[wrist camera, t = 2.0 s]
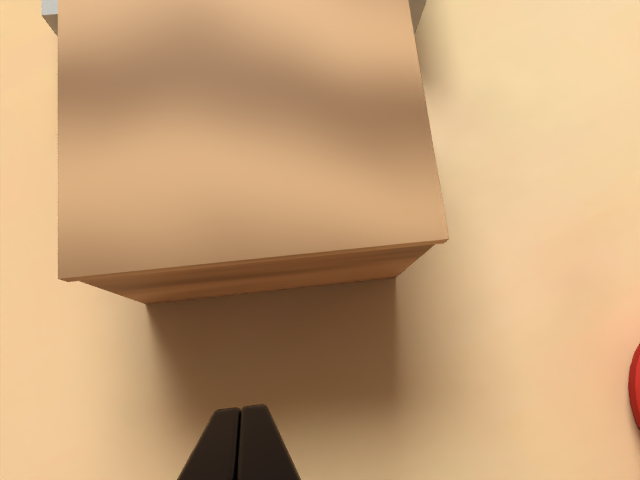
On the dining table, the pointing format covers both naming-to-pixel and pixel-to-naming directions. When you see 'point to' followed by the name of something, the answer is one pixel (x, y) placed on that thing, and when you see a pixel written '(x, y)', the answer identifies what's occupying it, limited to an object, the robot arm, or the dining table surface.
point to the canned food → (635, 385)
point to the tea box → (241, 146)
